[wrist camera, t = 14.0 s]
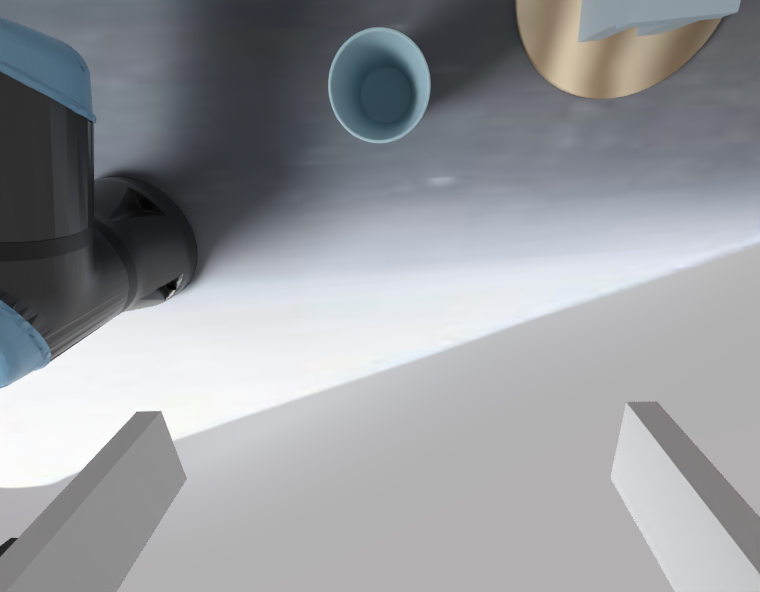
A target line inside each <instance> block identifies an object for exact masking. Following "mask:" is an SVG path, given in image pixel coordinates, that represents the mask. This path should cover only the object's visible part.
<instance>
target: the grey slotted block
mask: <svg viewBox="0 0 760 592" xmlns="http://www.w3.org/2000/svg"><path fill="white" fill-rule="evenodd" d="M740 2H741V0H582V5H581V14H580V24H579V34H578V42H588V41H598V40H603V39H605V38H607V37H610V36H612V35H614V34H617V33H619V32H621V31H624V30H626V29H628V28H631V27H638V31H637V36H647V35H656V34H662V33H665V32H668V31H671V30H674V29H677V28H679V27H682V26H685V25H688V24H691V23H694V22H697V21H699V20H708V19H718V18H721V17H724V16H727V15H730V14H733V13H736V12H738V10H739V6H740Z"/></svg>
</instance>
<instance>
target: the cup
mask: <svg viewBox="0 0 760 592" xmlns="http://www.w3.org/2000/svg"><path fill="white" fill-rule="evenodd" d="M430 90H431V79H430V72H429V68H428V64H427V62H426V59H425V57H424V55H423V53H422V52H421V50H420V49H419V47H418V46H417V45H416V44H415V43H414V42H413V41H412V40H411V39H410V38H409V37H408V36H406V35H405V34H403V33H401V32H399V31H397V30H394V29H391V28H386V27H373V28H368V29H365V30H362V31H360V32H358V33H356V34H355V35H353V36H352V37H350V38H349V39H348V40H347V41H346V42H345V43H344V44H343V45H342V46H341V48H340V49H339V50H338V52H337V54H336V56H335V58H334V60H333V62H332V65H331V68H330V73H329V80H328V91H329V98H330V102H331V105H332V108H333V111H334V113H335V115H336V117H337V119H338V120H339V122H340V123H341V124H342V125H343V126H344V128H345V129H346V130H348V131H349V132H350V133H351V134H352V135H354V136H356V137H357V138H359V139H362V140H364V141H367V142H372V143H387V142H391V141H395V140H397V139H399V138H401V137H403V136H405V135H406V134H408V133H409V132H410V131H411V130H412V129H413V128H414V127H415V126H416V125H417V124H418V123H419V121H420V120H421V118H422V116H423V115H424V113H425V110H426V108H427V105H428V102H429V98H430Z"/></svg>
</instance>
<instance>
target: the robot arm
mask: <svg viewBox="0 0 760 592" xmlns="http://www.w3.org/2000/svg"><path fill="white" fill-rule="evenodd" d="M94 123H96V116H95V115H94V114H93V110H92V96H91V81H90V72H89V69H88V66H87V64H86V63H85V61H84V59H83V58H82V57H81V55H80V54H79V53H78V52H77V51H76V50H74V49H73V48H72V47H71V46H69V45H68V44H66V43H64V42H62V41H60V40H58V39H55V38H53V37H51V36H48V35H46V34H43V33H41V32H38V31H36V30H33V29H31V28H28V27H26V26H23V25H20V24H18V23H15V22H13V21H10V20H8V19H5V18H3V17H0V388H2V387H5V386H8V385H10V384H12V383H13V382H15V381H17V380H18V379H20V378H22V377H24V376H25V375H27V374H29V373H30V372H32V371H35V370H38V369H41V368H43V367H45V366H46V365H47V364H49V362H50V361H52V360H53V359H55V358H56V357H58V356H59V355H61V354H62V353H63V352H65V351H66V350H68V349H69V348H71V347H72V346H74V345H75V344H77V343H78V342H79V341H81V340H82V339H84V338H85V337H87V336H88V335H90V334H91V333H92V332H94V331H95V330H97V329H98V328H100V327H101V326H103V325H104V324H105V323H107V322H108V321H110V320H111V319H113V318H114V317H115V316H117V315H118V314H120V313H122V312H125V311H130V310H135V309H140V308H145V307H150V306H155V305H158V304H161V303H163V302H165V301H167V300H169V299H170V298H172V297H173V296H175V295H176V294H177V293H179V292H180V291H181V290H183V289H184V288H185V287H186V286H187V284H188V283H189V282H190V280H191V278H192V276H193V274H194V271H195V268H196V263H197V247H196V242H195V238H194V235H193V232H192V229H191V227H190V225H189V223H188V221H187V220H186V218H185V216H184V215H183V214H182V212H181V211H180V210H179V208H178V207H177V206H176V205H175V204H174V203H173V202H172V201H171V200H170V199H169V198H168V197H167V196H166V195H164V194H163V193H162V192H160V191H159V190H157V189H156V188H154V187H152V186H150V185H148V184H146V183H144V182H142V181H139V180H136V179H132V178H127V177H107V178H102V179H96V180H94ZM611 480H612V482H613V483H614V485H615V487H616V489H617V490H618V492H619V494H620V496H621V497H622V499H623V501H624V503H625V504H626V506H627V508H628V510H629V512H630V513H631V515H632V517H633V518H634V520H635V522H636V524H637V525H638V527H639V529H640V531H641V533H642V535H643V536H644V538H645V540H646V542H647V543H648V545H649V547H650V549H651V550H652V552H653V554H654V556H655V557H656V559H657V561H658V563H659V565H660V566H661V568H662V570H663V572H664V573H665V575H666V577H667V579H668V580H669V582H670V584H671V586H672V587H673V589H674V591H675V592H760V517H759V516H758V515H757V514H756V513H755V512H754V510H753V509H752V508H751V507H750V506H749V505H748V504H747V503H746V502H745V500H744V499H743V498H742V497H741V496H740V495H739V494H738V492H737V491H736V490H735V489H734V488H733V487H732V486H731V485H730V483H729V482H728V481H727V480H726V479H725V478H724V477H723V475H722V474H721V473H720V472H719V471H718V470H717V469H716V468H715V467H714V465H713V464H712V463H711V462H710V461H709V460H708V459H707V457H706V456H705V455H704V454H703V453H702V452H701V451H700V450H699V449H698V447H697V446H696V445H695V444H694V443H693V442H692V441H691V439H690V438H689V437H688V436H687V435H686V434H685V433H684V432H683V430H682V429H681V428H680V427H679V426H678V425H677V424H676V423H675V422H674V420H673V419H672V418H671V417H670V416H669V415H668V414H667V413H666V411H665V410H664V409H663V408H662V407H661V406H660V404H659V403H658V402H627V403H626V407H625V412H624V416H623V421H622V426H621V430H620V435H619V440H618V445H617V449H616V454H615V459H614V463H613V468H612V473H611ZM185 481H186V476H185V473H184V470H183V468H182V465H181V463H180V460H179V457H178V455H177V452H176V449H175V447H174V445H173V441H172V439H171V436H170V434H169V431H168V428H167V426H166V423H165V420H164V418H163V415H162V412H161V411H150V412H136V413H135V414H134V415H133V416H132V418H131V419H130V420H129V421H128V422H127V423H126V424H125V425H124V426H123V427H122V428H121V429H120V430H119V431H118V432H117V433H116V435H115V436H114V437H113V438H112V439H111V440H110V441H109V442H108V443H107V444H106V445H105V446H104V447H103V448H102V449H101V451H100V452H99V453H98V454H97V455H96V456H95V457H94V458H93V459H92V460H91V461H90V462H89V463H88V464H87V465H86V466H85V468H84V469H83V470H82V471H81V472H80V473H79V474H78V475H77V476H76V477H75V478H74V479H73V480H72V482H70V484H69V485H68V486H67V487H66V488H65V489H64V490H63V491H62V492H61V493H60V494H59V495H58V496H57V497H56V498H55V499H54V501H53V502H52V503H51V504H50V505H49V506H48V507H47V508H46V509H45V510H44V511H43V512H42V513H41V514H40V516H38V518H37V519H36V520H35V521H34V522H33V523H32V524H31V525H30V526H29V527H28V528H27V529H26V530H25V532H23V533H22V535H21V536H20V537H19V538H10V539H9V540H8V541H6V542H5V543H4V544H2V545H1V546H0V592H116V591H117V590H118V588H119V587H120V585H121V583H122V582H123V580H124V578H125V577H126V575H127V573H128V572H129V571H130V569H131V567H132V566H133V564H134V562H135V561H136V559H137V558H138V556H139V554H140V553H141V551H142V550H143V548H144V546H145V545H146V543H147V542H148V540H149V538H150V537H151V535H152V534H153V532H154V530H155V529H156V527H157V526H158V524H159V522H160V521H161V519H162V518H163V516H164V514H165V513H166V511H167V510H168V508H169V506H170V504H171V503H172V502H173V500H174V498H175V497H176V495H177V494H178V492H179V490H180V489H181V487H182V486H183V484H184V482H185Z"/></svg>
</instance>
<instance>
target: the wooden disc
mask: <svg viewBox="0 0 760 592" xmlns="http://www.w3.org/2000/svg"><path fill="white" fill-rule="evenodd" d="M581 5H582V0H515V14H516V22H517V28H518V32H519V36H520V40H521V43H522V45H523V48H524V50H525V53H526V54H527V56H528V58H529V60H530V61H531V63H532V65H533V66H534V67H535V69H536V70H537V71H538V72H539V74H540V75H541V76H542V77H543V78H545V79H546V80H547V81H548V82H549V83H550V84H552V85H553V86H555V87H556V88H558V89H559V90H562V91H564V92H566V93H568V94H571V95H574V96H578V97H581V98H589V99H609V98H616V97H622V96H627V95H630V94H634V93H637V92H640V91H642V90H644V89H647V88H649V87H651V86H653V85H655V84H657V83H659V82H660V81H662V80H664V79H666V78H667V77H668V76H670V75H671V74H673V73H674V72H675V71H677V70H678V69H679V68H680V67H682V66H683V65H684V64H685V63H686V62H687V61H688V60H690V59H691V58H692V57H693V56H694V54H695V53H696V52H697V51H698V50H699V49H700V48H701V47H702V46H703V45H704V43H705V42H706V41H707V40H708V38H709V37H710V36H711V34H712V33H713V32H714V30H715V29H716V27H717V25H718V24H719V22H720V21H721V19H722V18H723V17H721V18H718V19H708V20H699V21H697V22H694V23H691V24H688V25H685V26H682V27H679V28H677V29H674V30H671V31H668V32H665V33H662V34H656V35H647V36H637V31H638V27H631V28H628V29H626V30H624V31H621V32H619V33H617V34H614V35H612V36H610V37H607V38H605V39H603V40H598V41H588V42H578V34H579V24H580V14H581Z"/></svg>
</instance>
